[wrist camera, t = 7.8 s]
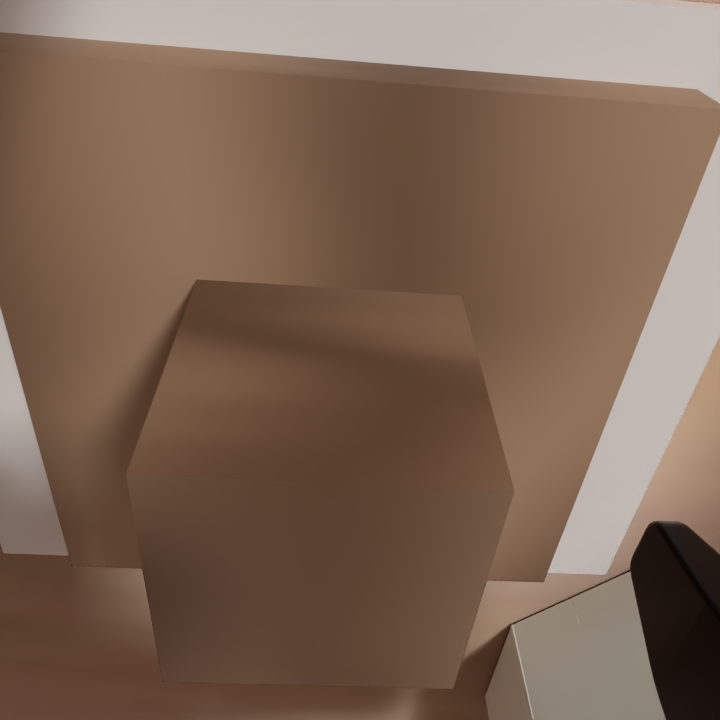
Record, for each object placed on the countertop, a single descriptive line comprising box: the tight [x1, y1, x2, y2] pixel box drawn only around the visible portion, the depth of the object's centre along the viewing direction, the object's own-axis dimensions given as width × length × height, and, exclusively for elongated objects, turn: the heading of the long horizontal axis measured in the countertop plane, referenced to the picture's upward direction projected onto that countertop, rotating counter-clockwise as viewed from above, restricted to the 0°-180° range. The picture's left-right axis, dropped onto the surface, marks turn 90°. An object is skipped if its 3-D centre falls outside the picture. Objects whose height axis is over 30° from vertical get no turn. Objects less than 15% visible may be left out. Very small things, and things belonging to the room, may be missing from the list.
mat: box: [0, 0, 720, 575], centre depth 12 cm, size 14×12×1 cm
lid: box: [0, 32, 720, 689], centre depth 10 cm, size 10×10×5 cm
